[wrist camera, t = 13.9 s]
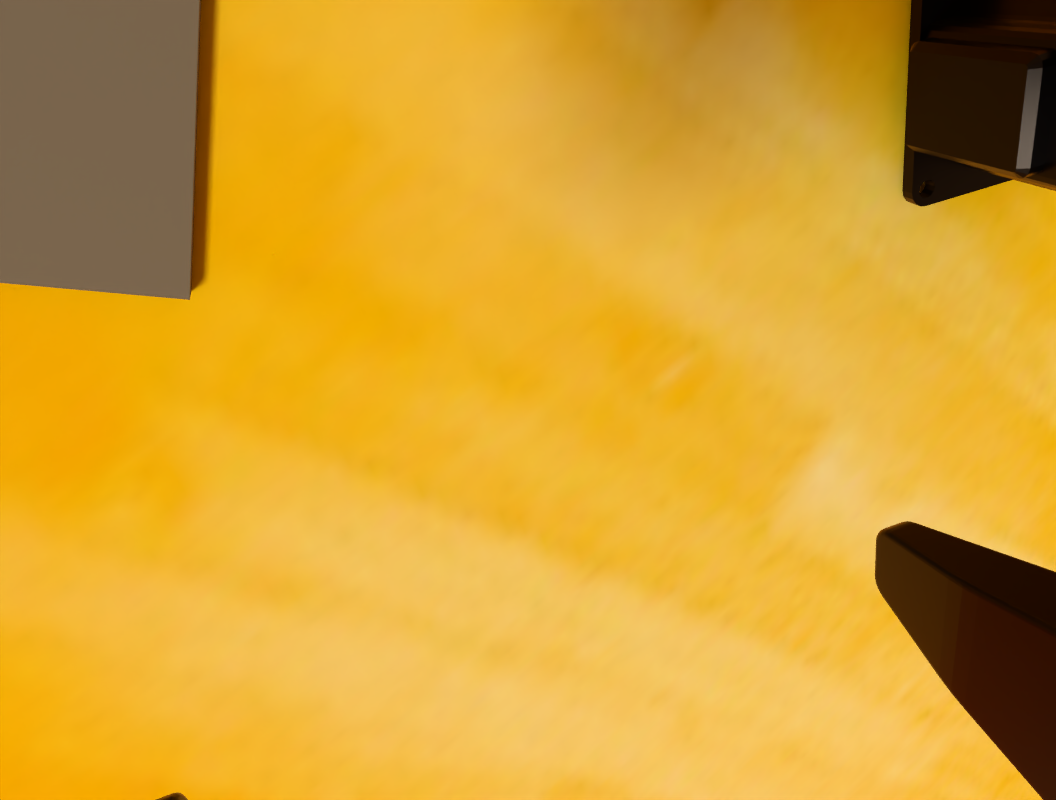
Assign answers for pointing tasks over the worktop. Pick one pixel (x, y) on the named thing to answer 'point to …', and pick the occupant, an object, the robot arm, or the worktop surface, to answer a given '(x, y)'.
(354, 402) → the worktop surface
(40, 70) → the mat
